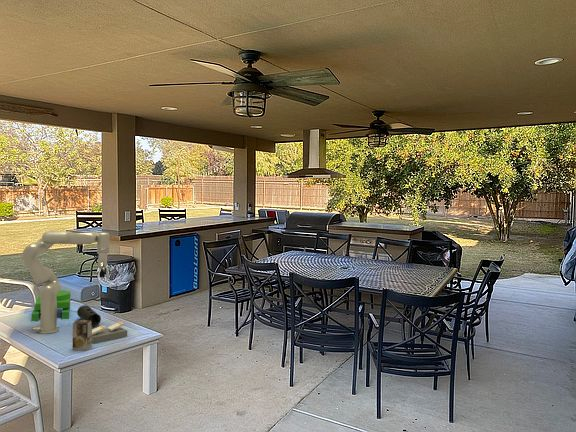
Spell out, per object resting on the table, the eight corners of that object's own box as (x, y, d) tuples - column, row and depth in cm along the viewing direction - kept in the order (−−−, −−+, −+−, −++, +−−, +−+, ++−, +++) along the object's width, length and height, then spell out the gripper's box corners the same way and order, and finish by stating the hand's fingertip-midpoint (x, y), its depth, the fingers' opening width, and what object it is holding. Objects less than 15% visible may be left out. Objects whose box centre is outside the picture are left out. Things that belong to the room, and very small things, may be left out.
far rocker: (111, 331, 278) (110, 329, 278) (107, 329, 281) (107, 327, 281) (124, 324, 284) (123, 323, 284) (120, 323, 288) (120, 321, 287)
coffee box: (92, 346, 262) (92, 320, 261) (87, 350, 255) (88, 323, 255) (76, 346, 262) (77, 319, 261) (71, 349, 255) (72, 322, 254)
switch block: (93, 343, 266) (93, 335, 266) (85, 339, 274) (85, 331, 274) (127, 336, 283) (127, 328, 282) (118, 332, 291) (118, 324, 290)
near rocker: (92, 334, 269) (91, 333, 269) (88, 333, 272) (88, 331, 272) (106, 328, 275) (105, 326, 275) (102, 326, 279) (102, 324, 279)
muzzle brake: (86, 329, 295) (86, 314, 294) (76, 319, 316) (76, 305, 316) (101, 327, 301) (101, 312, 300) (90, 317, 322) (90, 303, 322)
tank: (29, 325, 301) (30, 301, 300) (35, 311, 333) (35, 290, 332) (68, 322, 311) (69, 299, 311) (70, 309, 343) (70, 289, 342)
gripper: (98, 249, 299) (98, 273, 300) (95, 252, 282) (95, 278, 283) (110, 249, 301) (110, 273, 302) (108, 252, 285) (107, 278, 285)
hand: (102, 276), depth 293 cm, fingers open, 9 cm apart
